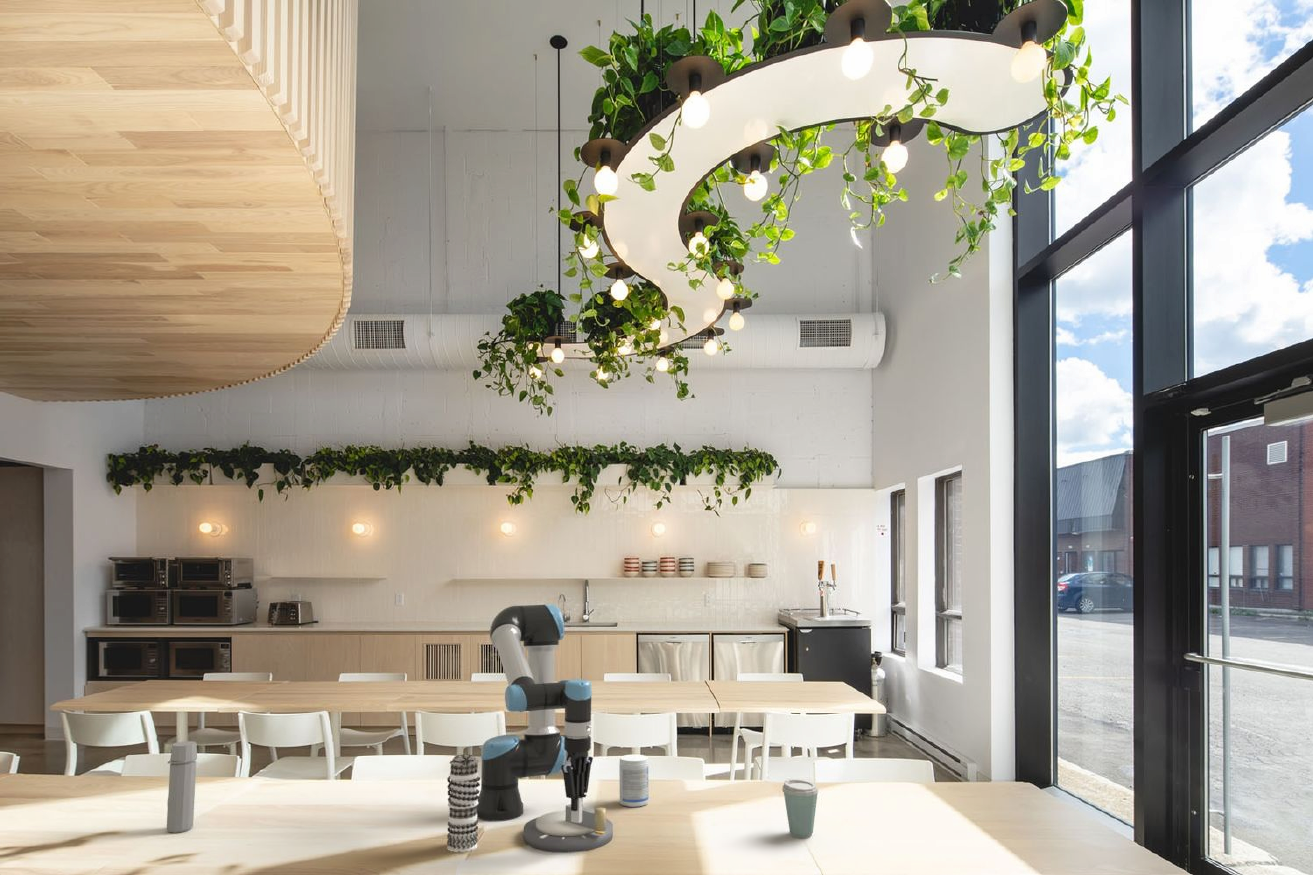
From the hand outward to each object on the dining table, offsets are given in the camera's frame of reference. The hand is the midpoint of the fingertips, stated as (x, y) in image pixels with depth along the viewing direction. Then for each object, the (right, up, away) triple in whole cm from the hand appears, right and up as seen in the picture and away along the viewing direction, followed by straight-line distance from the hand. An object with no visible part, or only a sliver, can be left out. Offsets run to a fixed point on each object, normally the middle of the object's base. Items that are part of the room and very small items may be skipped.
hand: (576, 821), depth 258 cm
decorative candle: (-32, -8, +1) cm, 33 cm away
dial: (-1, -5, +8) cm, 10 cm away
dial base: (-3, -9, +10) cm, 13 cm away
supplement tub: (+15, -12, +43) cm, 47 cm away
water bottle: (-121, -9, +16) cm, 122 cm away
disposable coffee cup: (+65, -9, +12) cm, 67 cm away
